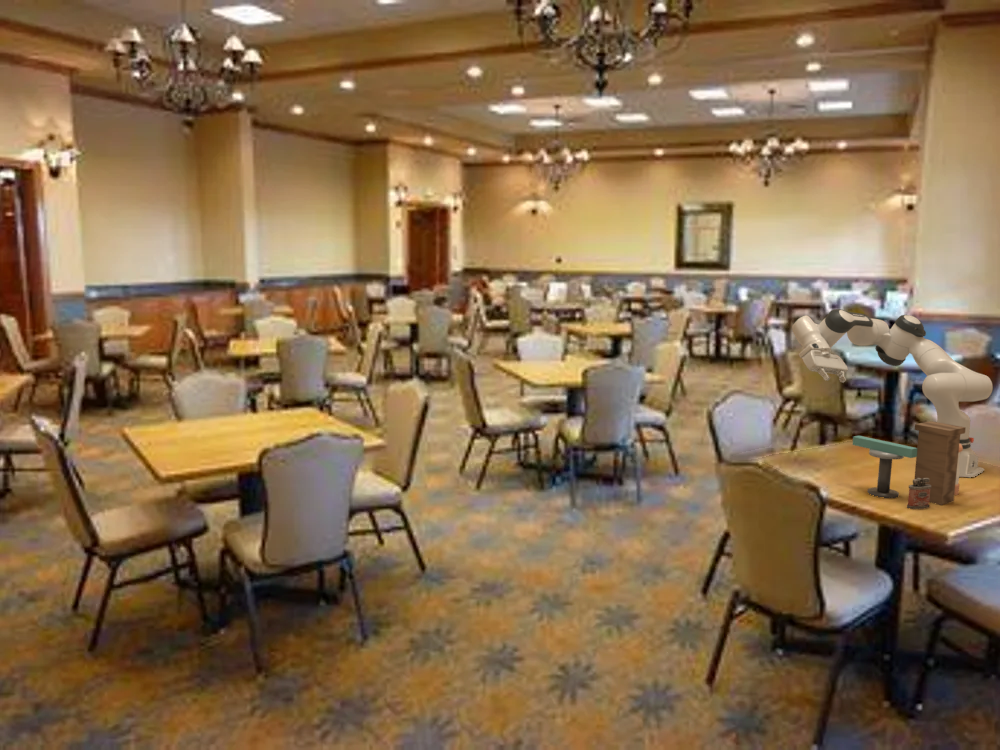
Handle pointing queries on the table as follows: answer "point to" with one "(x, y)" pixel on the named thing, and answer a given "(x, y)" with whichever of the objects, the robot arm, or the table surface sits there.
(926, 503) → the lighter
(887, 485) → the cake stand
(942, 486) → the tall stand
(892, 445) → the rod
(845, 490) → the table surface
